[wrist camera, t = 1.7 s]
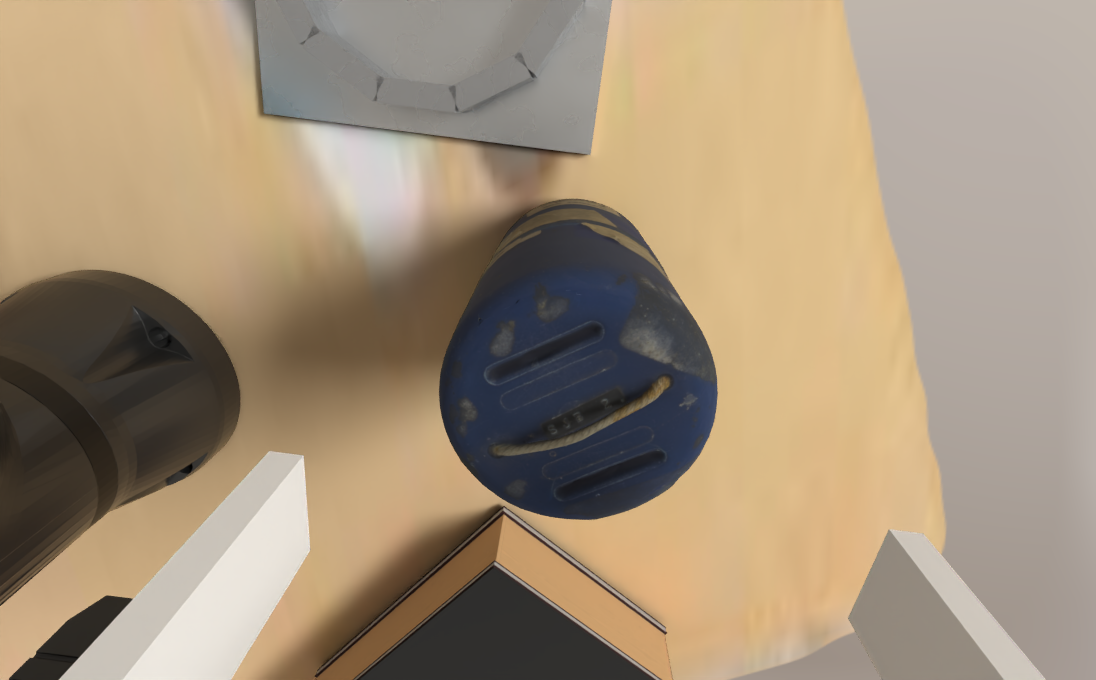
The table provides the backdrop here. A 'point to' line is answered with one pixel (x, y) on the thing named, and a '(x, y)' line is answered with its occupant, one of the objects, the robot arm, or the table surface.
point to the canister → (577, 369)
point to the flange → (439, 66)
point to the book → (507, 620)
